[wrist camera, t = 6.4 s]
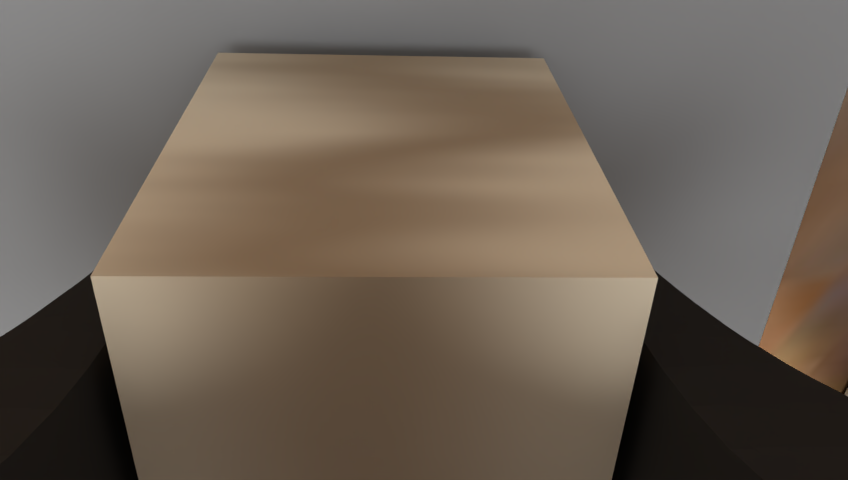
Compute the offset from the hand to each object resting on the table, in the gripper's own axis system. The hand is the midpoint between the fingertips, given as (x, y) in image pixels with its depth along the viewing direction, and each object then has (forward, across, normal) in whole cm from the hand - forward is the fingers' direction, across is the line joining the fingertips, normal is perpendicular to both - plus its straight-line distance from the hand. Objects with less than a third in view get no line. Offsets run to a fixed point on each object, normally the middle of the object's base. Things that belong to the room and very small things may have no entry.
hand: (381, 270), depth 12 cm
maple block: (+2, 0, 0) cm, 2 cm away
